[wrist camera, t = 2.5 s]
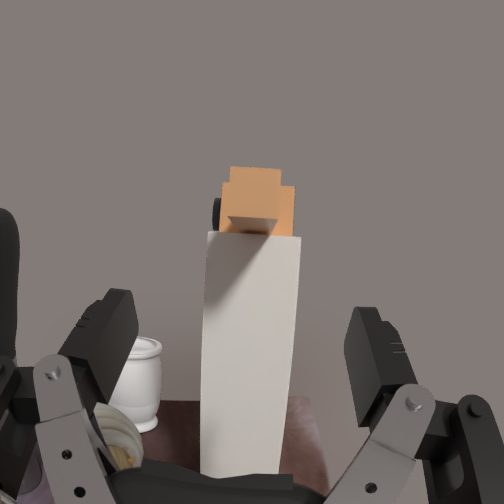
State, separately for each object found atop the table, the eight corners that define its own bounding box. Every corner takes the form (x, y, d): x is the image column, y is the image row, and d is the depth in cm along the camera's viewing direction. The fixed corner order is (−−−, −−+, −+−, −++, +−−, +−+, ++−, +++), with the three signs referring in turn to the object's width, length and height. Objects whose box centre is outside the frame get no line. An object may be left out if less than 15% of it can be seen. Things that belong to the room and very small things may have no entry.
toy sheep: (88, 522, 21) (67, 450, 22) (59, 446, 34) (48, 382, 35) (170, 505, 28) (165, 436, 28) (122, 440, 41) (116, 379, 41)
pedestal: (270, 519, 27) (304, 169, 28) (190, 512, 27) (200, 164, 28) (268, 451, 43) (288, 201, 44) (209, 447, 43) (221, 197, 44)
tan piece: (317, 221, 19) (319, 136, 19) (188, 214, 19) (197, 129, 19) (291, 238, 34) (293, 188, 34) (220, 233, 35) (223, 184, 35)
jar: (127, 444, 40) (120, 356, 41) (94, 417, 46) (88, 338, 46) (175, 425, 49) (175, 346, 49) (140, 404, 55) (138, 332, 55)
